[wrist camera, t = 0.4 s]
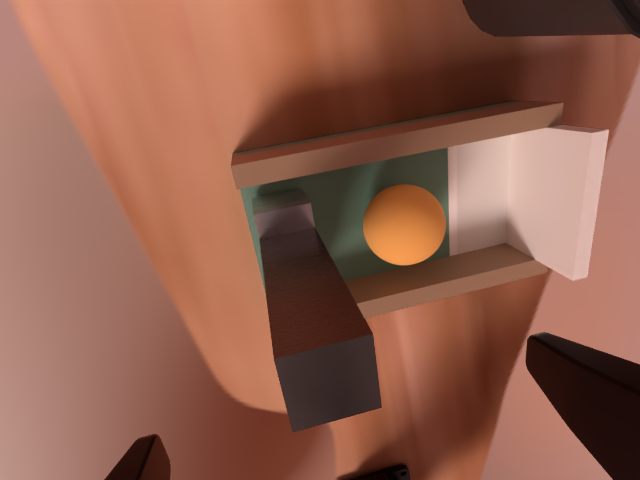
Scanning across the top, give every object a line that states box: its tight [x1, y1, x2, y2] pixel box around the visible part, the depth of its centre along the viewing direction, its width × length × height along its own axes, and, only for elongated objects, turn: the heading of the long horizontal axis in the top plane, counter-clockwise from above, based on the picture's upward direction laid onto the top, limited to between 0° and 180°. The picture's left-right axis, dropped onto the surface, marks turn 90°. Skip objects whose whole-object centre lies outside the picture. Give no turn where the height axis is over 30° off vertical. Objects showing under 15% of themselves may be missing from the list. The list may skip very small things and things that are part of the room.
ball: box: [363, 184, 446, 265], centre depth 19 cm, size 4×4×4 cm
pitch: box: [231, 101, 609, 318], centre depth 19 cm, size 9×15×6 cm, turn 98°
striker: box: [252, 188, 382, 432], centre depth 15 cm, size 5×2×11 cm, turn 8°
